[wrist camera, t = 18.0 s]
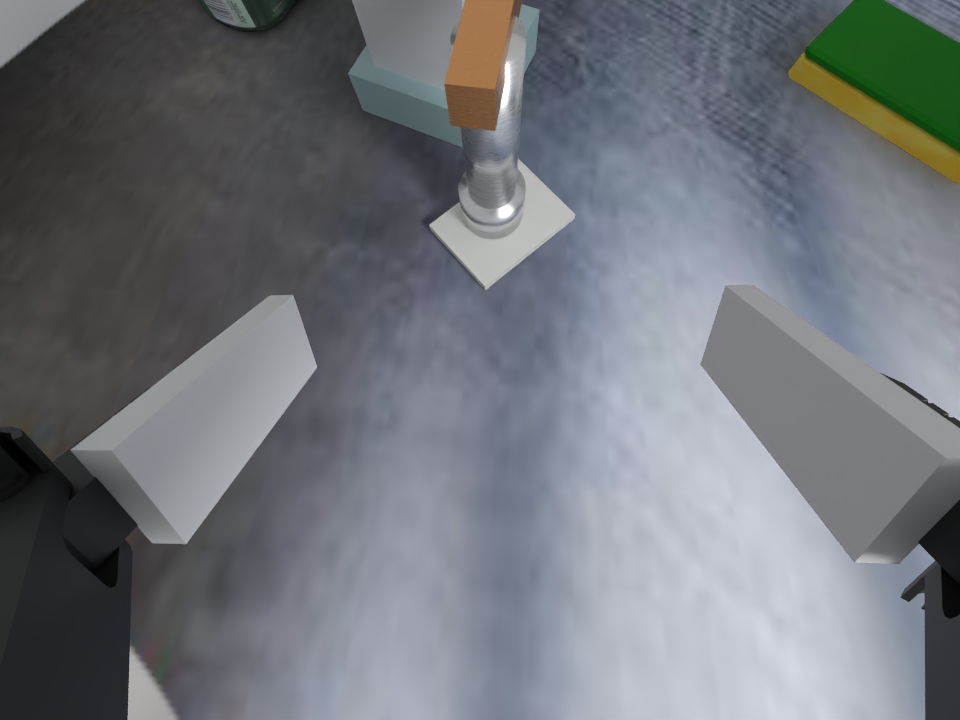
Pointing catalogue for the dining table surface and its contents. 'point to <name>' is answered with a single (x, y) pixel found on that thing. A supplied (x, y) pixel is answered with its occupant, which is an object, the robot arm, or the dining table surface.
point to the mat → (503, 254)
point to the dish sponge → (890, 79)
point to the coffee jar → (248, 12)
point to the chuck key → (488, 113)
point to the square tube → (414, 61)
